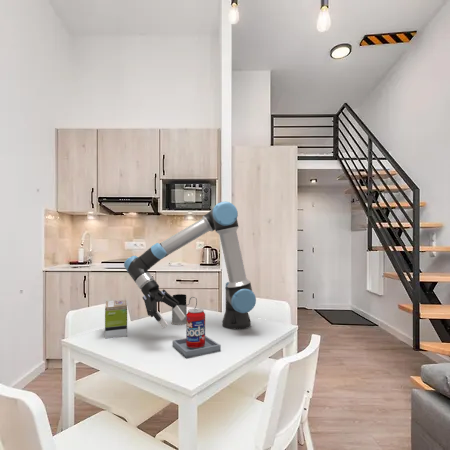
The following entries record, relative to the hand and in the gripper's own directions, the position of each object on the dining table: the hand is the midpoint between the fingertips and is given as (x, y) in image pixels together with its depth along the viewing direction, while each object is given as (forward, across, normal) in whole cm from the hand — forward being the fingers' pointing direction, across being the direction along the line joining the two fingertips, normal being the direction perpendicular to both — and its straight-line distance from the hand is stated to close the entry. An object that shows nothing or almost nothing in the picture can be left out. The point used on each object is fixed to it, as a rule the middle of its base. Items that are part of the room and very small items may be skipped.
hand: (174, 322), depth 129 cm
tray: (+14, 0, +1) cm, 14 cm away
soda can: (+14, 0, +1) cm, 14 cm away
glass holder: (-4, -32, -18) cm, 37 cm away
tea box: (-18, -2, -32) cm, 37 cm away
